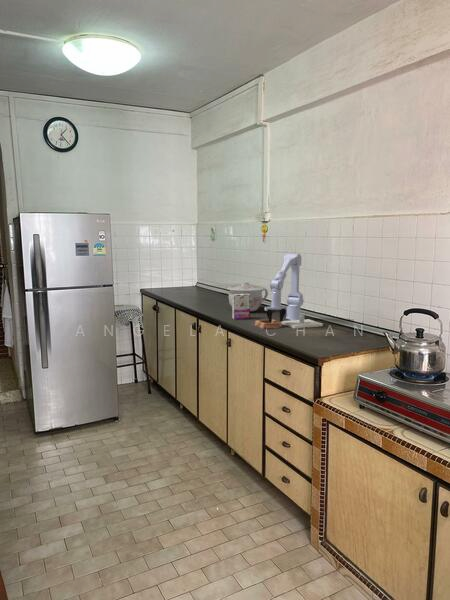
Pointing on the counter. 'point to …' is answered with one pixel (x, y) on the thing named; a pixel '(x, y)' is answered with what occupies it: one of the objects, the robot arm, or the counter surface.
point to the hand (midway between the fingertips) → (275, 321)
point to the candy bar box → (240, 306)
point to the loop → (268, 324)
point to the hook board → (302, 323)
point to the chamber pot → (249, 289)
